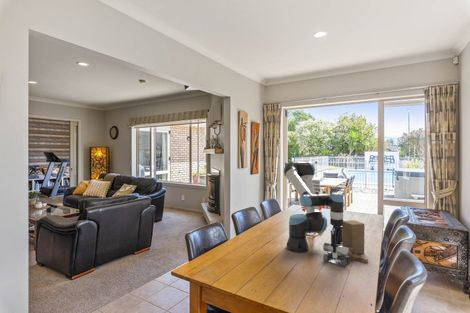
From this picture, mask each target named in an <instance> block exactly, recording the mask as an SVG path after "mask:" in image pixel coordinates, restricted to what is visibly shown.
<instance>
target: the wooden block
mask: <svg viewBox="0 0 470 313" xmlns="http://www.w3.org/2000/svg"><path fill="white" fill-rule="evenodd" d="M341 227H343V228H342V246H347V247H351V248H356V255H360V254H365V223H364V222H362V221H361V222H360V221H357V220H354V219H353V220H343V226H341Z"/></svg>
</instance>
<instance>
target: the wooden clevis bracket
mask: <svg viewBox="0 0 470 313" xmlns="http://www.w3.org/2000/svg"><path fill="white" fill-rule="evenodd" d="M340 245H341V244H340ZM341 246H342V245H341ZM343 247H347V246H343ZM347 248H349V255H348V256H350V262H351V261H352V260H353V261H357V262H361V263H364V264H368V263H369V258H368V257H363V256H359V255H357V254H356V248H351V247H347ZM337 258H339V259H342V258H344V255H341V256H339V255H337Z"/></svg>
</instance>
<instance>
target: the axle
mask: <svg viewBox="0 0 470 313" xmlns="http://www.w3.org/2000/svg"><path fill="white" fill-rule="evenodd" d="M322 247H323V251H324V252H326V253H327V252H332V253H333V247H331V243H329V242H324V243H323V246H322ZM337 247H338V250H337V254H340V255H344V256H348V255H349V248H347V247H343V246H338V245H337Z"/></svg>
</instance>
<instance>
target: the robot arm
mask: <svg viewBox="0 0 470 313" xmlns="http://www.w3.org/2000/svg"><path fill="white" fill-rule="evenodd" d="M283 174H284V177H285V178H286V179H287V180H289V181H290V183H291V185H292V186H293V187H294V189H295V191H296V192H297V194H298V195H299V202H300V205H301V207H305V209H306V213H305V214H304V213H296V214H292V215H290V216H289V219H288V239H287V242H286V249H287V250H288V251H290V252H293V253H294V252H295V253H305V252H308V251H309V248H310V246H309V242H308V240H307V234H315V233H316V234H317V233H324V232H325V231H326V230H327V227H328V218H327V217H326V216H325V215H324V214H323V212H322V211H320V209H319V207H329V209H330V212H329V216H330V220H329V221H330V222H329V223H330V225H332V229H331V230H330V244H331V247H333V258H337V255H339V256H341V255H340V254H337V250H338V247H337V245H338V246H341V245H342V228H343V227H342V226H343V221H344V216H345V214H344V207H345V206H344V203H345V200H344V194H343V193H342V192H341V193H340V192H331V193H330V194H329V193H325V192H324V193H321V194H316V191H315V188H314V187H315V186H314V182H313V178H314V176H315V174H316V167H315V165H314V163H313V162H312V161H308V160H306V161H305V160H304V161H301V160H300V161H298V160H297V161H296V160H294V161H289V162H288V163H287V164H285V166H284V168H283Z"/></svg>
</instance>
